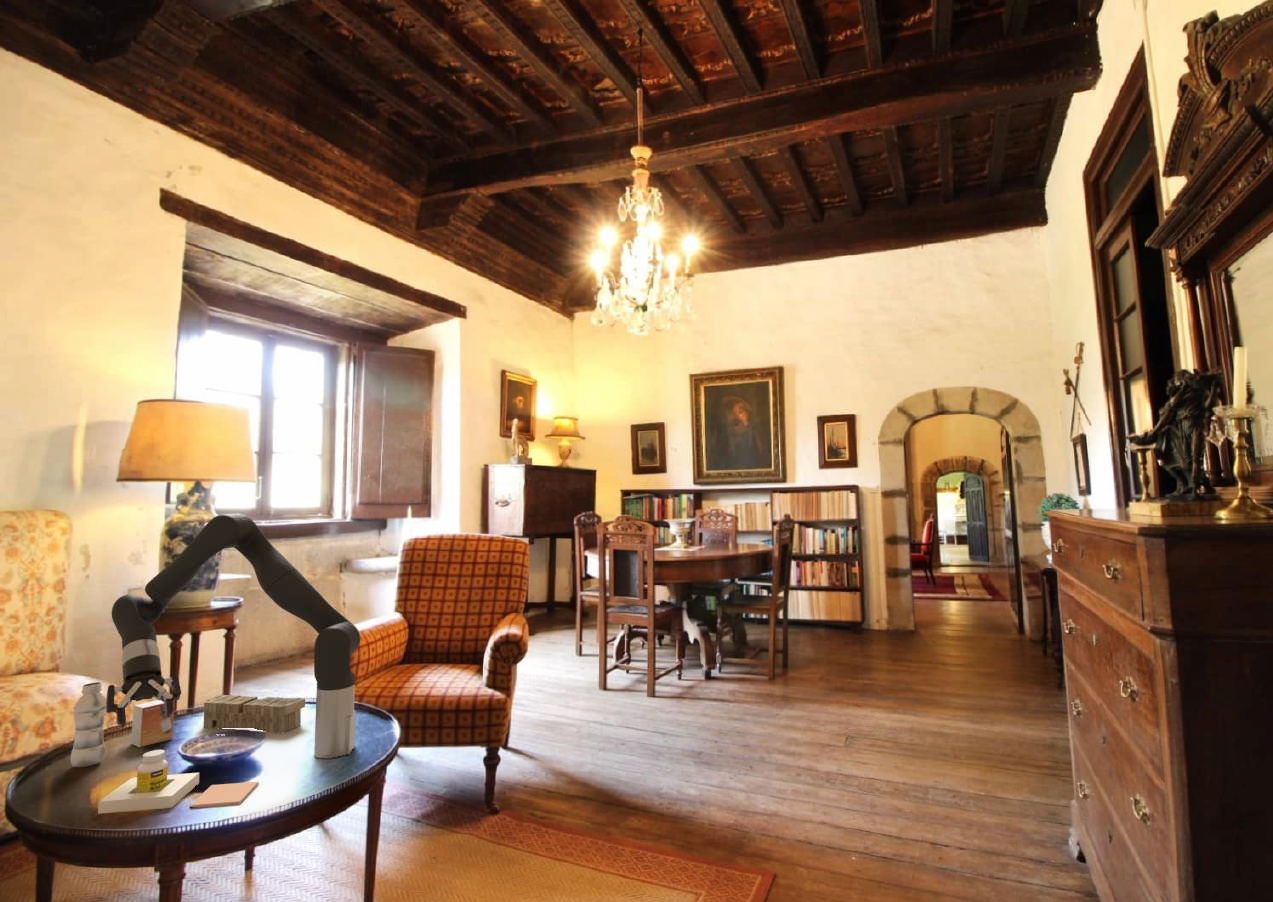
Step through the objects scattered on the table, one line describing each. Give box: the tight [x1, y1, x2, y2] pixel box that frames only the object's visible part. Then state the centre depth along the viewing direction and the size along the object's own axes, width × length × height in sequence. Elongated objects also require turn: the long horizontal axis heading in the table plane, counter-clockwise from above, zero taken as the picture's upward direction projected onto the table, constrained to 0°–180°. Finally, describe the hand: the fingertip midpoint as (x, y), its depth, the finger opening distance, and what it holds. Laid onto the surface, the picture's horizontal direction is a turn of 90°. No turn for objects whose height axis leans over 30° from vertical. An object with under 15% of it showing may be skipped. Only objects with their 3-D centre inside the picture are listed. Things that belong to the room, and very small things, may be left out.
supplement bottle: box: [136, 749, 169, 793], centre depth 142 cm, size 5×5×10 cm
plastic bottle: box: [69, 681, 107, 768], centre depth 160 cm, size 6×7×20 cm
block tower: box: [202, 694, 306, 734], centre depth 188 cm, size 8×8×29 cm
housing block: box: [97, 772, 200, 815], centre depth 142 cm, size 14×12×2 cm
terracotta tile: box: [189, 781, 259, 808], centre depth 143 cm, size 10×10×1 cm
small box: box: [130, 699, 176, 748], centre depth 176 cm, size 8×6×10 cm
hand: (146, 720), depth 150 cm, fingers open, 8 cm apart
